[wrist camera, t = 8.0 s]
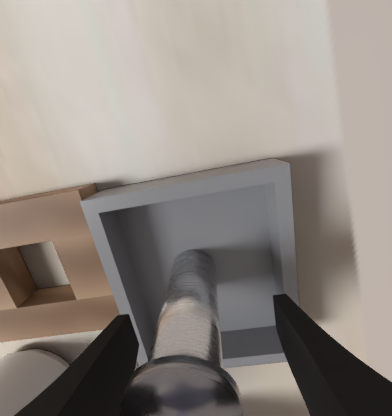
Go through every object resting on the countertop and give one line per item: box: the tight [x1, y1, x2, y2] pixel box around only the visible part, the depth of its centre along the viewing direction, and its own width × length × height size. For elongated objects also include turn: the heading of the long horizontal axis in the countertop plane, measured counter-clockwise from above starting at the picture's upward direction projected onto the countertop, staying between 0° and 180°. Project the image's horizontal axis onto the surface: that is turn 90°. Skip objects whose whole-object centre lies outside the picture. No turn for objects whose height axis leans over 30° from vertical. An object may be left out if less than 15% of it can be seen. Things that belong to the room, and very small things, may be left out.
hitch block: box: [0, 183, 120, 342], centre depth 16 cm, size 10×10×2 cm
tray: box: [80, 158, 299, 368], centre depth 15 cm, size 13×11×3 cm
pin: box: [119, 249, 243, 416], centre depth 11 cm, size 4×4×9 cm
